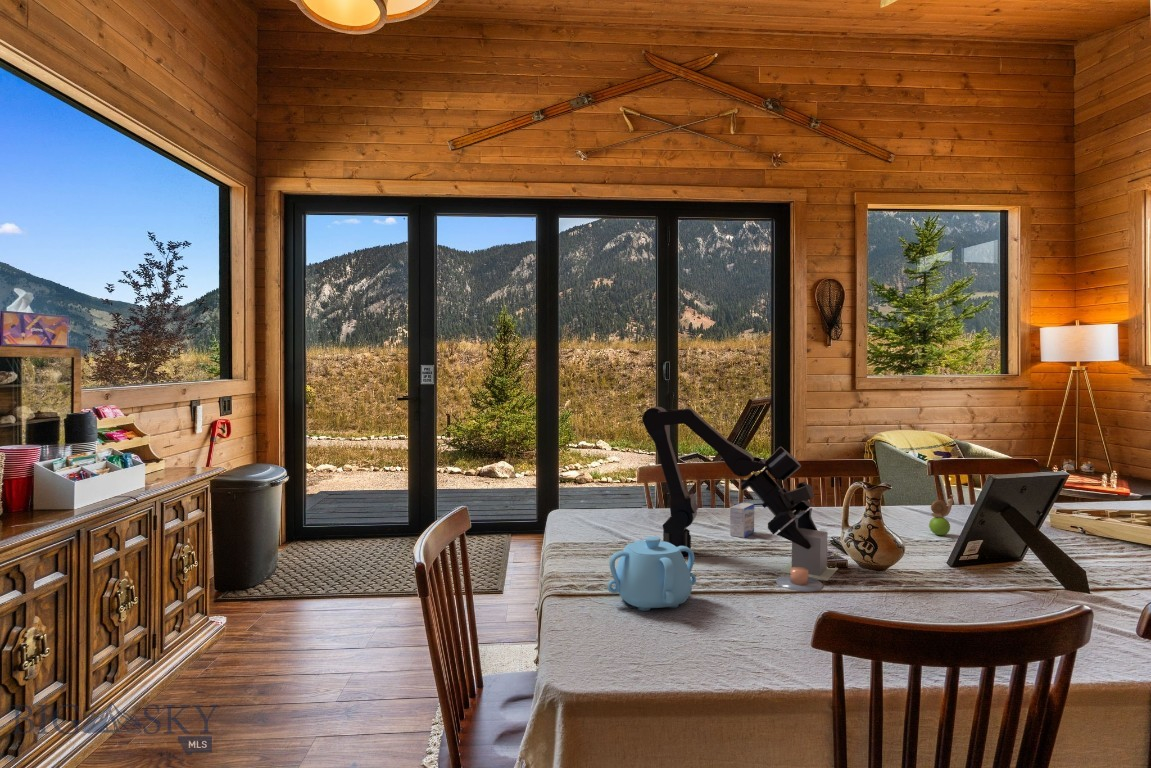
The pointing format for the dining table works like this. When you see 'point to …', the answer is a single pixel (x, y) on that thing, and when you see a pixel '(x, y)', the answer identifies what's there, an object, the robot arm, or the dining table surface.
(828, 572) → the mat
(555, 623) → the dining table surface
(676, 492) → the robot arm
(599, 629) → the dining table surface
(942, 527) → the snail figurine
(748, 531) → the medicine box
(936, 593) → the dining table surface
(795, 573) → the knob on round base
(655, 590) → the decorative pot
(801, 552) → the grey block
